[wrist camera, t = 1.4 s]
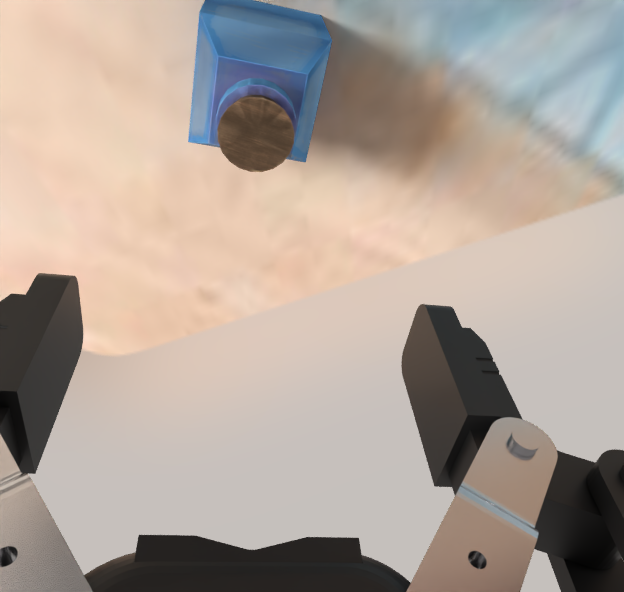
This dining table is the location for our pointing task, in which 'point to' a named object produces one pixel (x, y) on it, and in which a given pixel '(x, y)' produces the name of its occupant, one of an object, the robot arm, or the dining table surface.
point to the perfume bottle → (257, 81)
